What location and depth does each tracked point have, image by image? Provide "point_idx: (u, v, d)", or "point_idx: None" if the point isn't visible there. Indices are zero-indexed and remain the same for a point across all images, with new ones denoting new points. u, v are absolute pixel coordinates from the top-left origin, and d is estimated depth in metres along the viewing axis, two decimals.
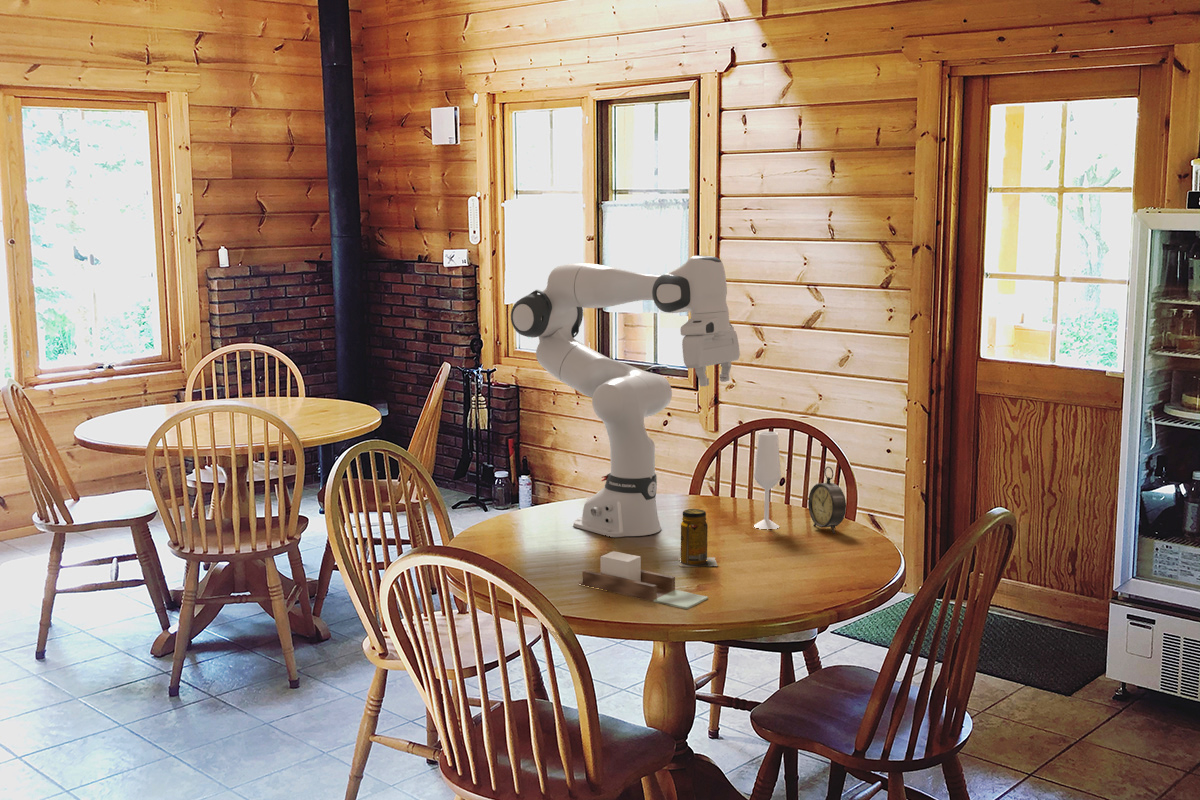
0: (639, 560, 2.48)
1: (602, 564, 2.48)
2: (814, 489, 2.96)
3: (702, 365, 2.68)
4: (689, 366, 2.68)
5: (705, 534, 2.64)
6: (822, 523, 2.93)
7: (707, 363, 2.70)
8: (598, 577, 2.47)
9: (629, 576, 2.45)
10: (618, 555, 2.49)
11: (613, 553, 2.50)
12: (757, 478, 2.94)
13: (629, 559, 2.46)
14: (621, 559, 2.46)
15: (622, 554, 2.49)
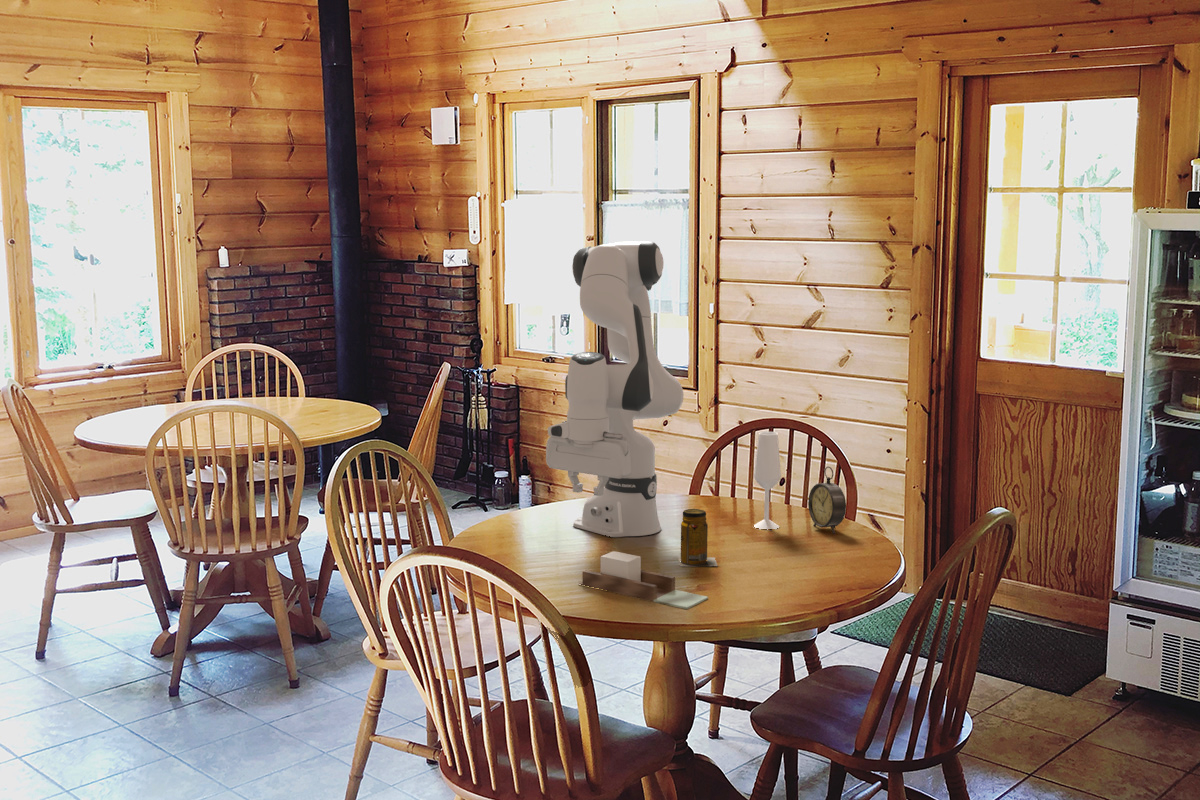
0: (639, 560, 2.48)
1: (602, 564, 2.48)
2: (814, 489, 2.96)
3: (554, 467, 2.53)
4: None
5: (705, 534, 2.64)
6: (822, 523, 2.93)
7: (562, 467, 2.52)
8: (598, 577, 2.47)
9: (629, 576, 2.45)
10: (618, 555, 2.49)
11: (613, 553, 2.50)
12: (757, 478, 2.94)
13: (629, 559, 2.46)
14: (621, 559, 2.46)
15: (622, 554, 2.49)
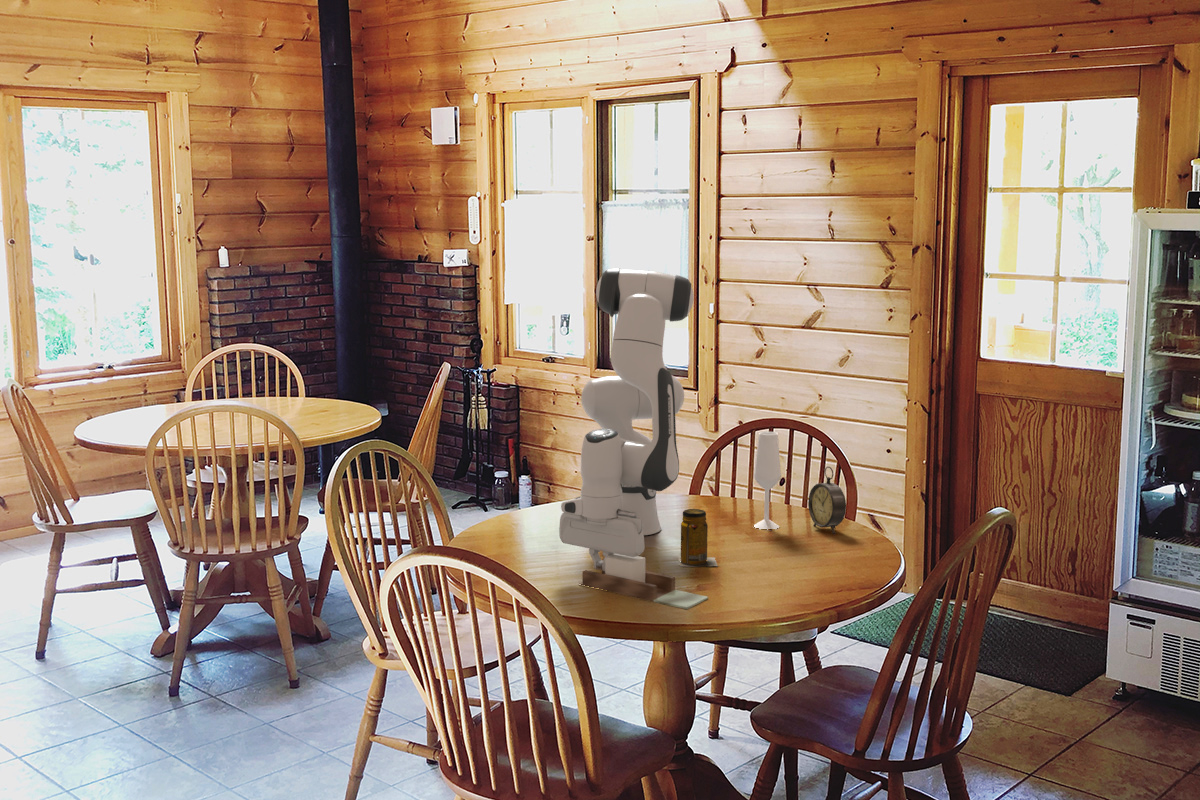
0: (644, 561, 2.47)
1: (607, 565, 2.48)
2: (814, 489, 2.96)
3: (567, 542, 2.54)
4: None
5: (705, 534, 2.64)
6: (822, 523, 2.93)
7: (575, 543, 2.52)
8: (598, 577, 2.47)
9: (634, 577, 2.44)
10: (623, 556, 2.48)
11: (618, 554, 2.50)
12: (757, 478, 2.94)
13: (634, 560, 2.45)
14: (626, 560, 2.45)
15: None
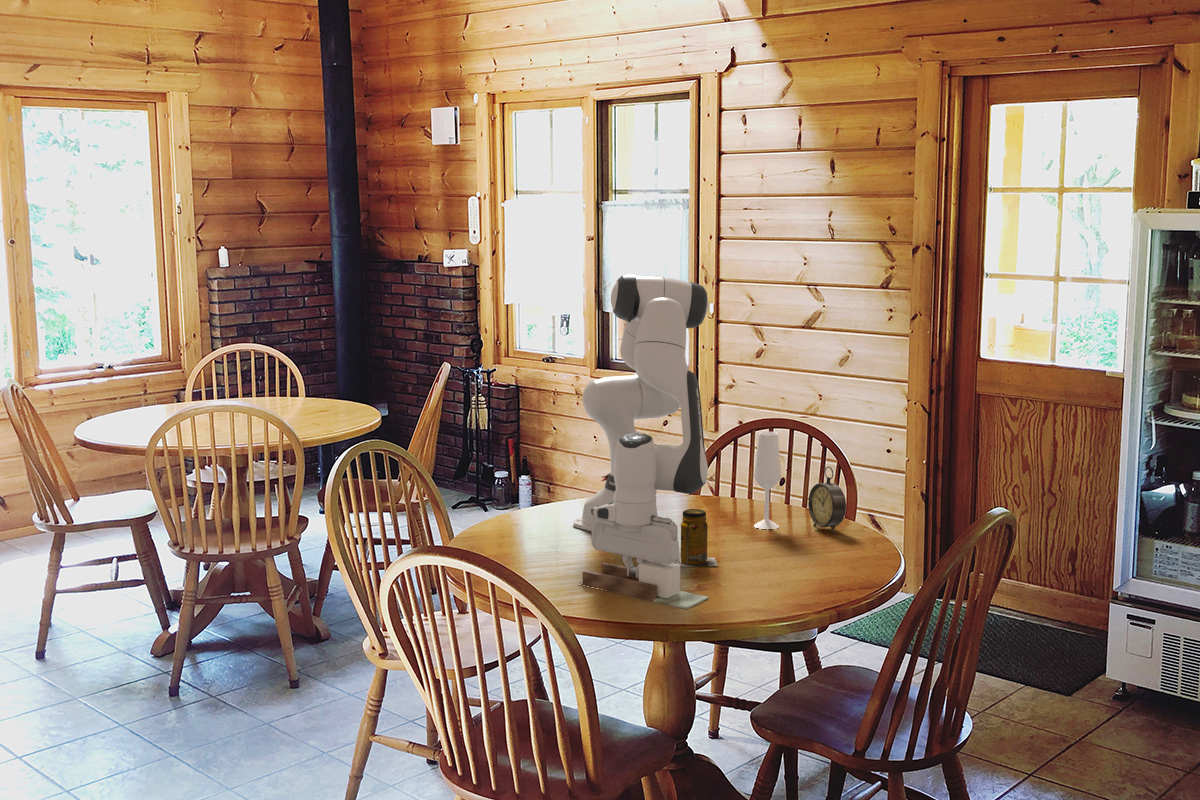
0: (679, 568, 2.42)
1: (640, 572, 2.43)
2: (814, 489, 2.96)
3: (599, 549, 2.49)
4: None
5: (705, 534, 2.64)
6: (822, 523, 2.93)
7: (608, 549, 2.48)
8: (598, 577, 2.47)
9: (668, 585, 2.40)
10: (657, 563, 2.43)
11: (651, 561, 2.45)
12: (757, 478, 2.94)
13: (669, 567, 2.40)
14: (660, 567, 2.40)
15: None
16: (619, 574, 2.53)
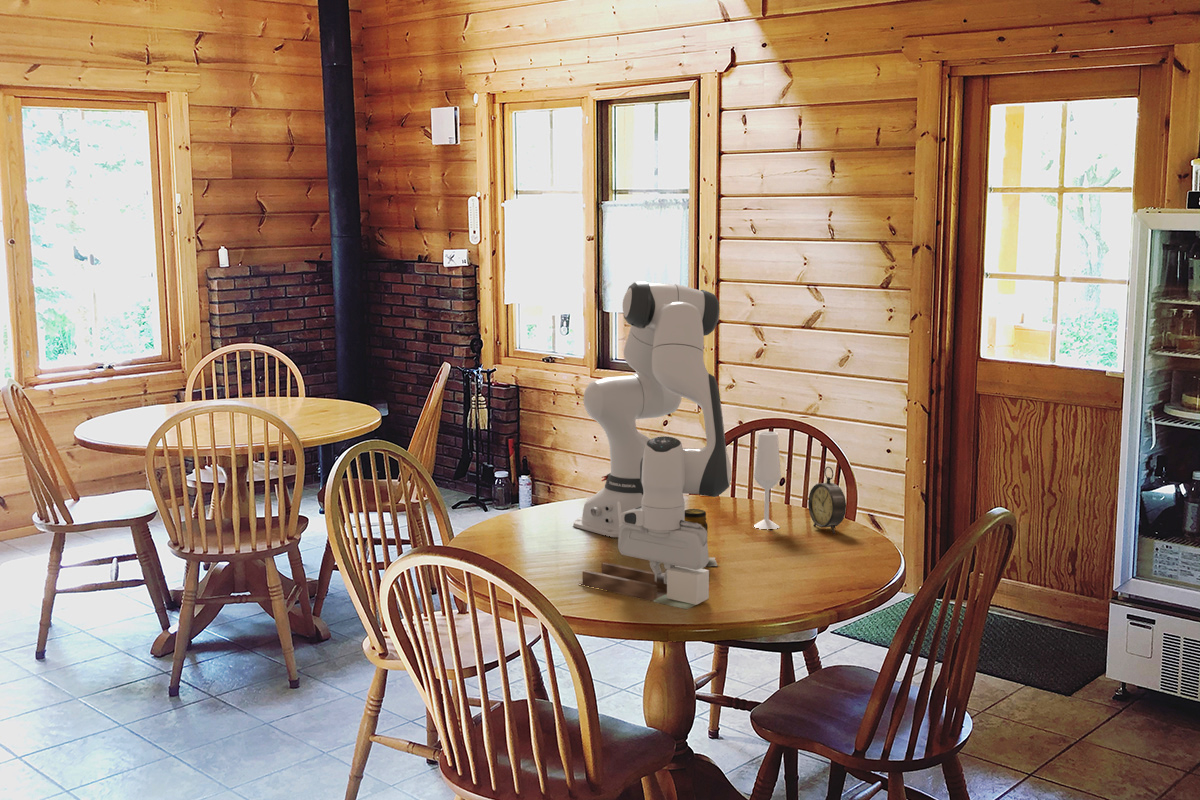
0: (708, 574, 2.38)
1: (669, 578, 2.39)
2: (814, 489, 2.96)
3: (626, 554, 2.45)
4: None
5: None
6: (822, 523, 2.93)
7: (635, 555, 2.44)
8: (598, 577, 2.47)
9: (698, 591, 2.36)
10: (685, 569, 2.39)
11: None
12: (757, 478, 2.94)
13: (698, 573, 2.36)
14: (689, 573, 2.36)
15: (689, 568, 2.40)
16: (619, 574, 2.53)
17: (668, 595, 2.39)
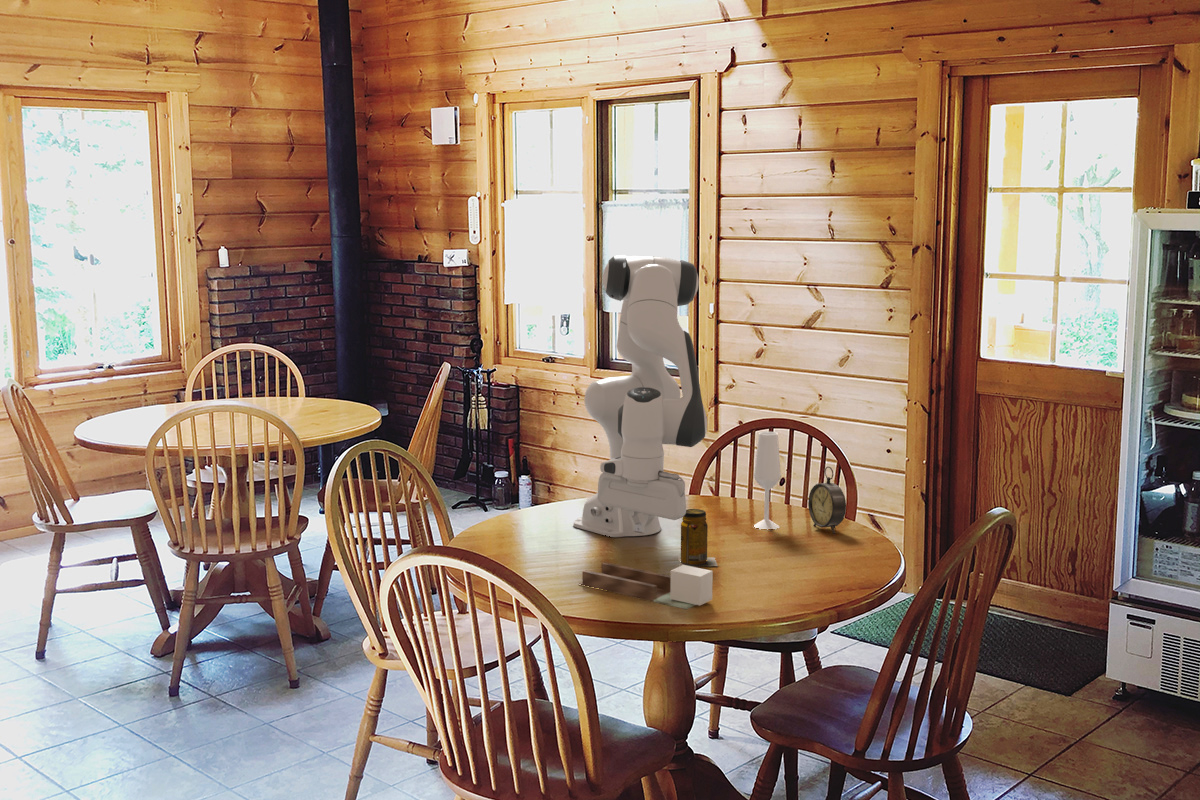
0: (711, 574, 2.38)
1: (672, 579, 2.38)
2: (814, 489, 2.96)
3: (605, 503, 2.47)
4: None
5: (705, 534, 2.64)
6: (822, 523, 2.93)
7: (614, 504, 2.45)
8: (598, 577, 2.47)
9: (701, 592, 2.35)
10: (689, 570, 2.38)
11: (683, 567, 2.40)
12: (757, 478, 2.94)
13: (701, 574, 2.36)
14: (693, 574, 2.36)
15: (693, 568, 2.39)
16: (619, 574, 2.53)
17: (671, 596, 2.39)
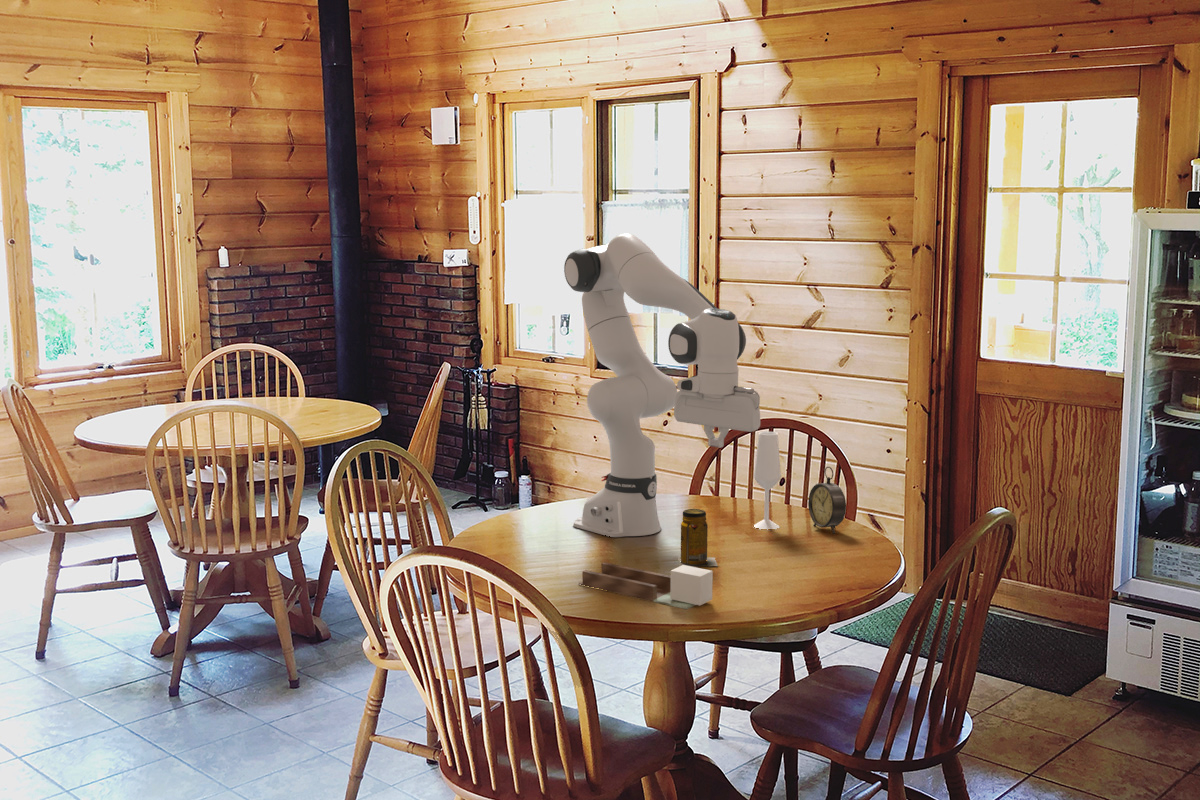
0: (711, 574, 2.38)
1: (672, 579, 2.38)
2: (814, 489, 2.96)
3: (682, 420, 2.60)
4: None
5: (705, 534, 2.64)
6: (822, 523, 2.93)
7: (690, 420, 2.59)
8: (598, 577, 2.47)
9: (701, 592, 2.35)
10: (689, 570, 2.38)
11: (683, 567, 2.40)
12: (757, 478, 2.94)
13: (701, 574, 2.36)
14: (693, 574, 2.36)
15: (693, 568, 2.39)
16: (619, 574, 2.53)
17: (671, 596, 2.39)
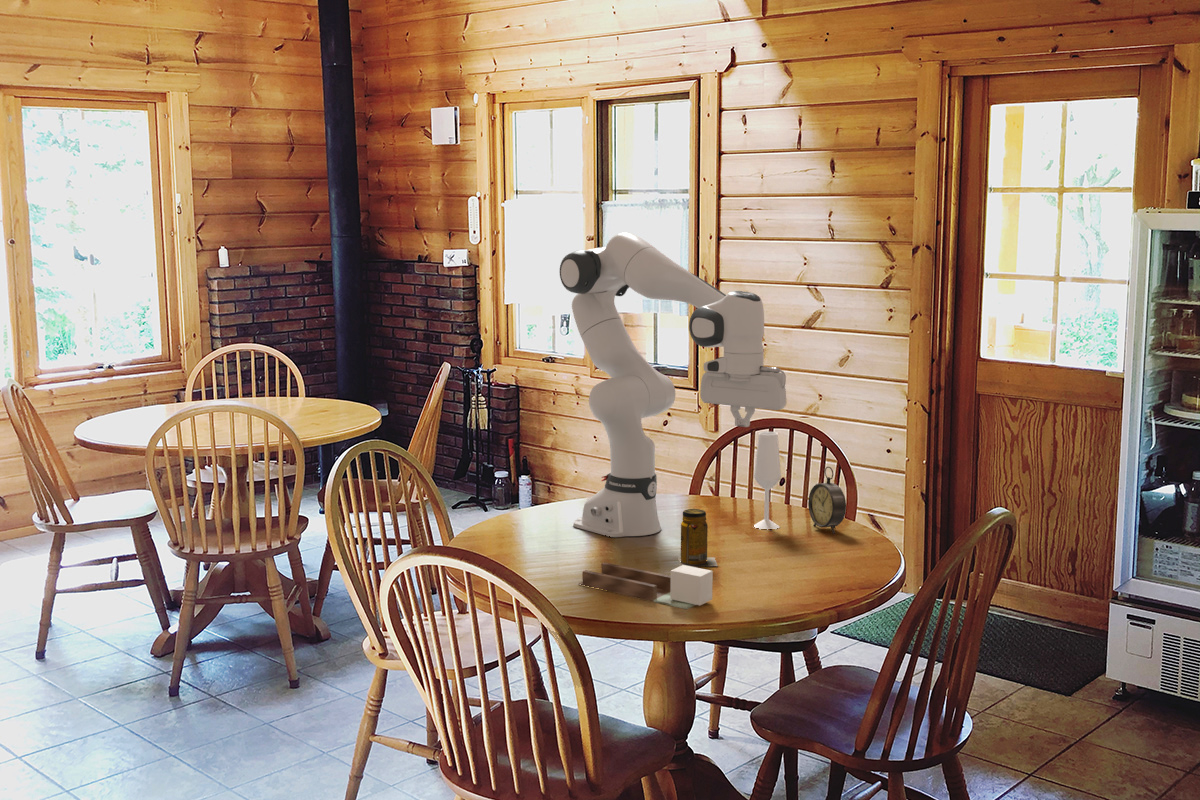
0: (711, 574, 2.38)
1: (672, 579, 2.38)
2: (814, 489, 2.96)
3: (708, 401, 2.66)
4: None
5: (705, 534, 2.64)
6: (822, 523, 2.93)
7: (716, 401, 2.65)
8: (598, 577, 2.47)
9: (701, 592, 2.35)
10: (689, 570, 2.38)
11: (683, 567, 2.40)
12: (757, 478, 2.94)
13: (701, 574, 2.36)
14: (693, 574, 2.36)
15: (693, 568, 2.39)
16: (619, 574, 2.53)
17: (671, 596, 2.39)
